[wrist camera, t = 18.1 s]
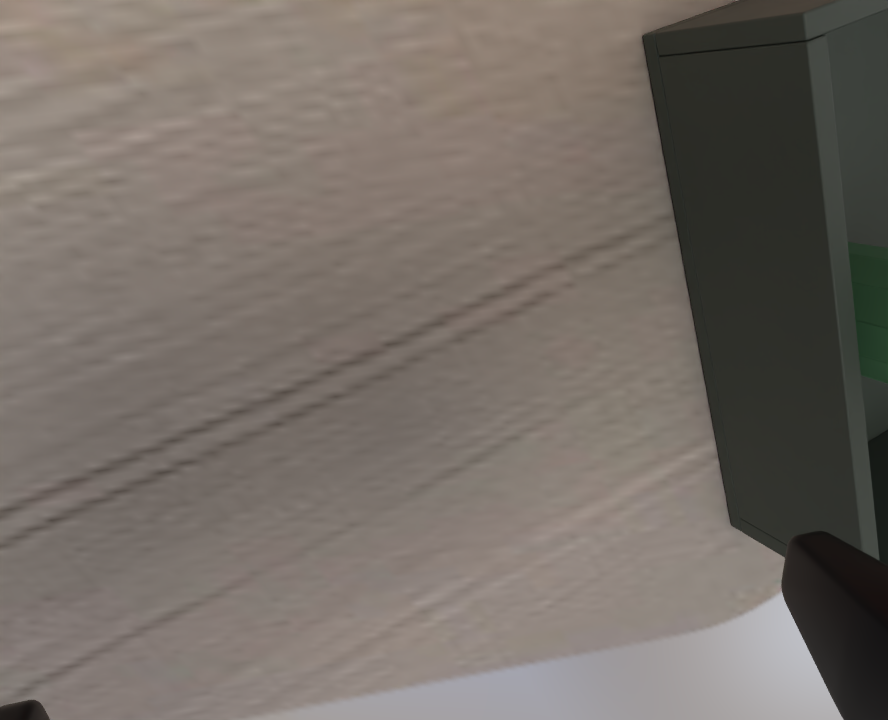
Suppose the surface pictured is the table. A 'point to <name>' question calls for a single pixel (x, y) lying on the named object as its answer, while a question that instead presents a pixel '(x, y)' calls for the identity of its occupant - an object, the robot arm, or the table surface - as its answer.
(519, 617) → the table surface
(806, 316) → the bin
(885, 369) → the bottle
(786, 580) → the robot arm
